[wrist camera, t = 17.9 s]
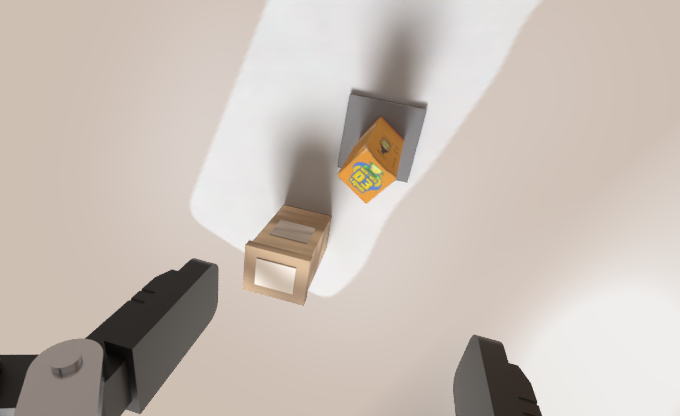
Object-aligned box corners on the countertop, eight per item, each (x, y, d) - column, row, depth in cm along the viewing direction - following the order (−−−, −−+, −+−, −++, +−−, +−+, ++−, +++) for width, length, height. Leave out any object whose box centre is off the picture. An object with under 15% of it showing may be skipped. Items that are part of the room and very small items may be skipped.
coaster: (350, 93, 33) (349, 94, 32) (426, 109, 32) (426, 110, 31) (338, 165, 36) (337, 166, 35) (407, 180, 35) (407, 182, 34)
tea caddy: (282, 202, 39) (244, 245, 30) (333, 215, 38) (309, 262, 30) (278, 240, 41) (242, 289, 32) (327, 252, 40) (303, 306, 32)
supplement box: (355, 140, 34) (332, 173, 25) (381, 115, 32) (367, 140, 23) (379, 165, 34) (366, 206, 25) (406, 141, 33) (402, 175, 24)
